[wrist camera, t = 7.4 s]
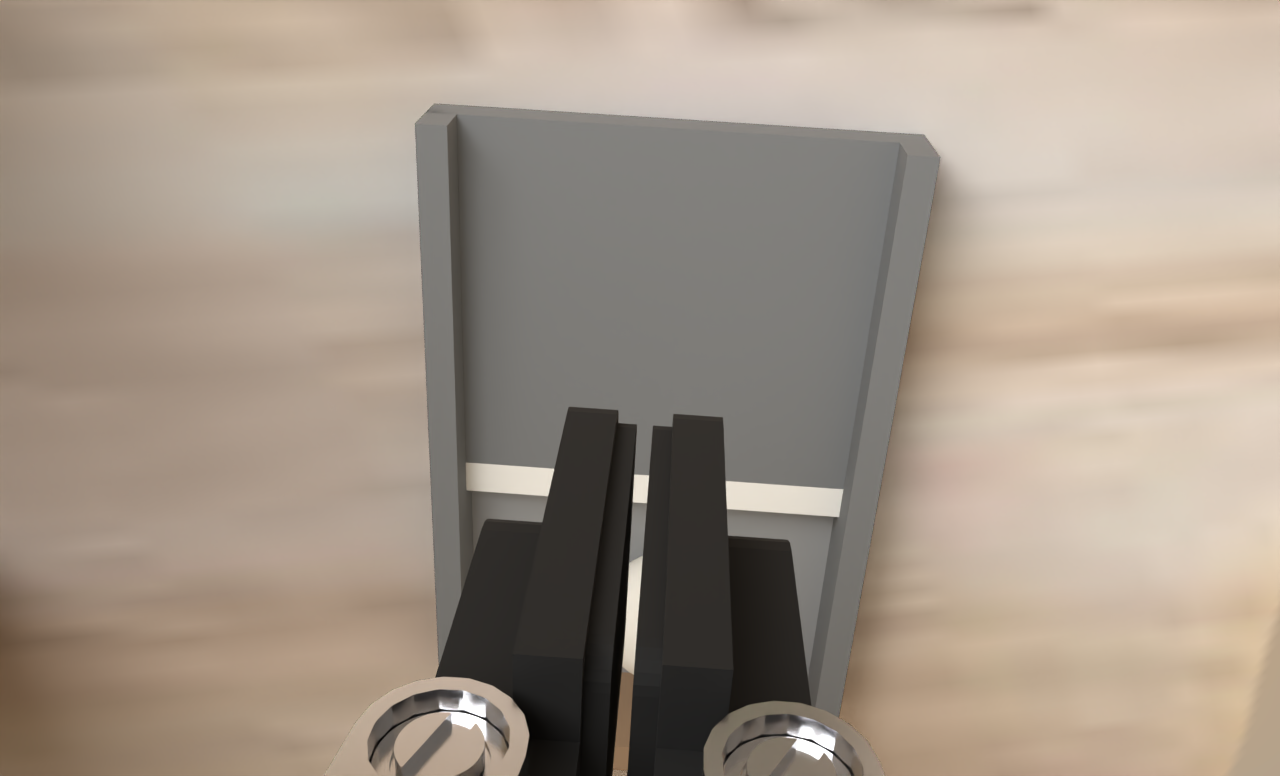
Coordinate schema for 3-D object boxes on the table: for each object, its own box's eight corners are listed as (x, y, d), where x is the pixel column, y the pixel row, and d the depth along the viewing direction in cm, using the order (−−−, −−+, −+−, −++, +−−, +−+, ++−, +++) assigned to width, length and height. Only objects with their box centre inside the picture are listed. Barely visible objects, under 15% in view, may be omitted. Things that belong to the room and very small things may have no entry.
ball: (608, 559, 36) (609, 531, 32) (727, 572, 36) (742, 546, 32) (594, 682, 35) (592, 667, 31) (717, 696, 35) (731, 684, 31)
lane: (434, 103, 29) (400, 138, 26) (924, 134, 29) (952, 173, 25) (454, 677, 38) (432, 755, 35) (825, 705, 38) (836, 786, 35)
